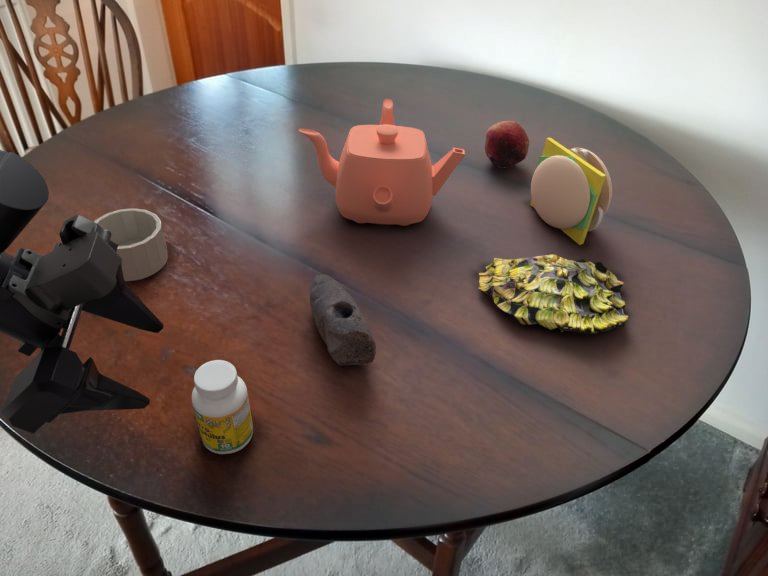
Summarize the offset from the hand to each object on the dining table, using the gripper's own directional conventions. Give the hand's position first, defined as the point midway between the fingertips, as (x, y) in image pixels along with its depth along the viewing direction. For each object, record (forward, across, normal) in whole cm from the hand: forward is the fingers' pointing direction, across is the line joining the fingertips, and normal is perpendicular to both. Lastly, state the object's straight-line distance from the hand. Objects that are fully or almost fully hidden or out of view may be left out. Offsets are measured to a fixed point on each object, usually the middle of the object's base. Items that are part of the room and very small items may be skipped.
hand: (154, 364), depth 57 cm
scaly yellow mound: (+42, +18, -25) cm, 52 cm away
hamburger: (+48, +36, -31) cm, 67 cm away
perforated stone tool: (+21, +13, -4) cm, 25 cm away
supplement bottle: (+12, 0, +5) cm, 13 cm away
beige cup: (+2, +31, +15) cm, 34 cm away
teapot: (+28, +42, -11) cm, 51 cm away
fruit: (+44, +53, -28) cm, 75 cm away
